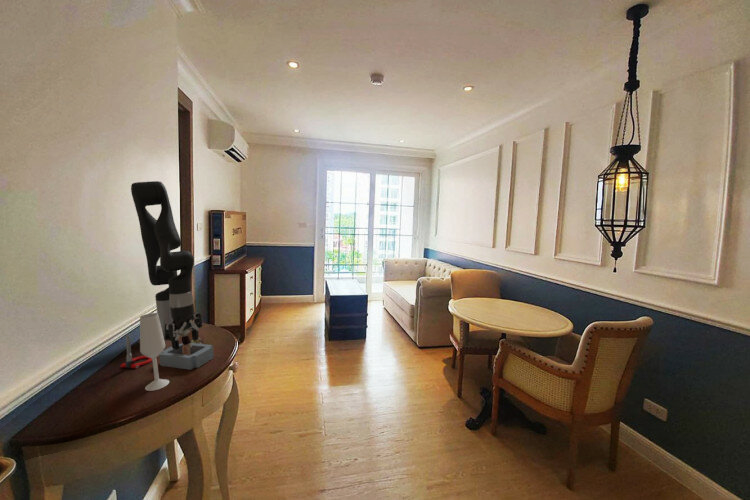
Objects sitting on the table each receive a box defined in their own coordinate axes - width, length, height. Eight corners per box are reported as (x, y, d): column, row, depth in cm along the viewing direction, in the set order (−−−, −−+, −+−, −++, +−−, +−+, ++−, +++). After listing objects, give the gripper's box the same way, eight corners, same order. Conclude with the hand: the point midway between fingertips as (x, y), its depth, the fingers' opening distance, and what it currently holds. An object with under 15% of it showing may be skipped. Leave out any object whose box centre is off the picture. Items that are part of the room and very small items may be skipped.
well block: (182, 352, 125) (181, 341, 124) (216, 356, 120) (215, 345, 120) (157, 365, 114) (156, 353, 114) (193, 370, 110) (192, 358, 109)
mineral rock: (185, 338, 133) (204, 332, 134) (189, 347, 134) (207, 340, 135) (174, 350, 123) (194, 343, 124) (178, 359, 124) (198, 352, 125)
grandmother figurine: (177, 358, 118) (173, 327, 116) (187, 354, 121) (183, 324, 119) (188, 363, 114) (184, 331, 112) (198, 358, 117) (194, 327, 116)
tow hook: (141, 357, 122) (118, 368, 113) (138, 326, 121) (115, 334, 112) (159, 358, 120) (137, 369, 111) (157, 327, 119) (135, 335, 110)
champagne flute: (139, 390, 98) (130, 318, 95) (157, 378, 104) (149, 311, 101) (157, 391, 97) (149, 319, 94) (174, 379, 103) (166, 312, 100)
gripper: (189, 298, 122) (193, 336, 124) (156, 309, 109) (161, 351, 110) (204, 298, 120) (208, 337, 122) (172, 310, 107) (177, 353, 109)
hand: (186, 344), depth 116 cm, fingers open, 8 cm apart
